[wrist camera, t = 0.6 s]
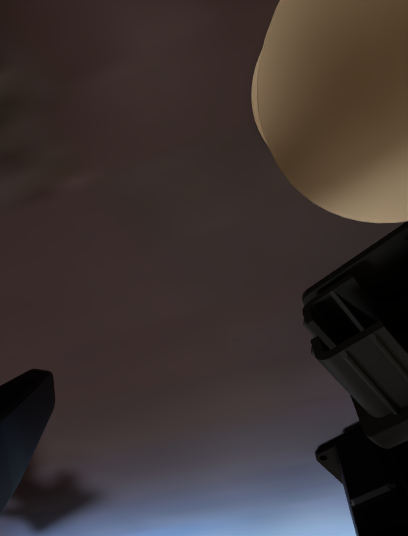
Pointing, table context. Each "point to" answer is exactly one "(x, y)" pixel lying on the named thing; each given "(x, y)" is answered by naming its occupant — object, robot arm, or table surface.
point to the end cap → (367, 334)
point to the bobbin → (338, 103)
